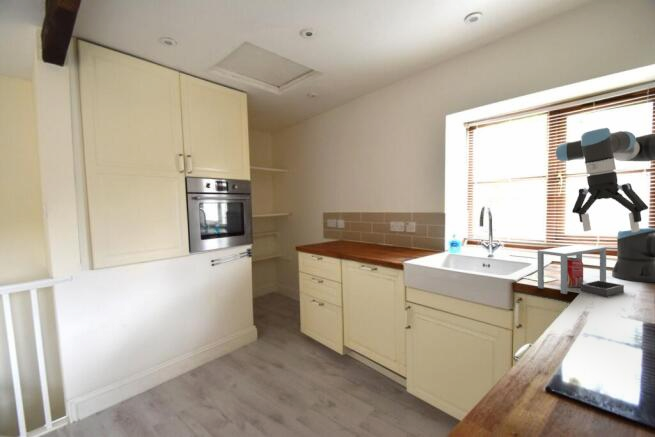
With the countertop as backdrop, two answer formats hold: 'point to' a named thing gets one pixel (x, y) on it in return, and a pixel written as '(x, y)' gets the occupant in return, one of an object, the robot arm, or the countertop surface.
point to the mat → (535, 278)
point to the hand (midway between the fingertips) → (609, 231)
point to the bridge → (565, 252)
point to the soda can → (574, 272)
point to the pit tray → (602, 288)
